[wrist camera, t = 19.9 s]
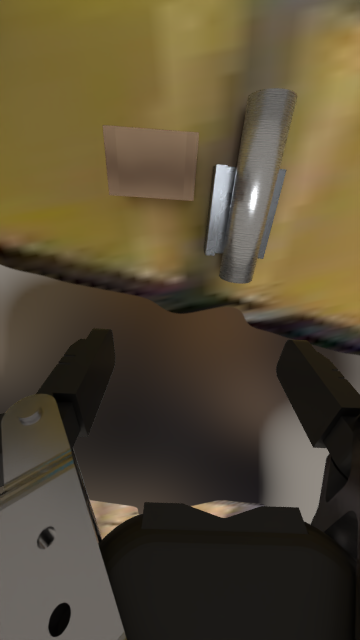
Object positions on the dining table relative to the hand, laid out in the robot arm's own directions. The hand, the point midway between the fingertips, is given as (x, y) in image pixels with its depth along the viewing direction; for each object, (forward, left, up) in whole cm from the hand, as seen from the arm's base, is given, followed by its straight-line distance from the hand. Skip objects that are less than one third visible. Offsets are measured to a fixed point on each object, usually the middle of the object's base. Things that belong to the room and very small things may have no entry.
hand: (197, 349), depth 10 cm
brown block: (-8, -4, -24) cm, 26 cm away
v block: (-4, +6, -24) cm, 25 cm away
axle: (-5, +6, -23) cm, 24 cm away
